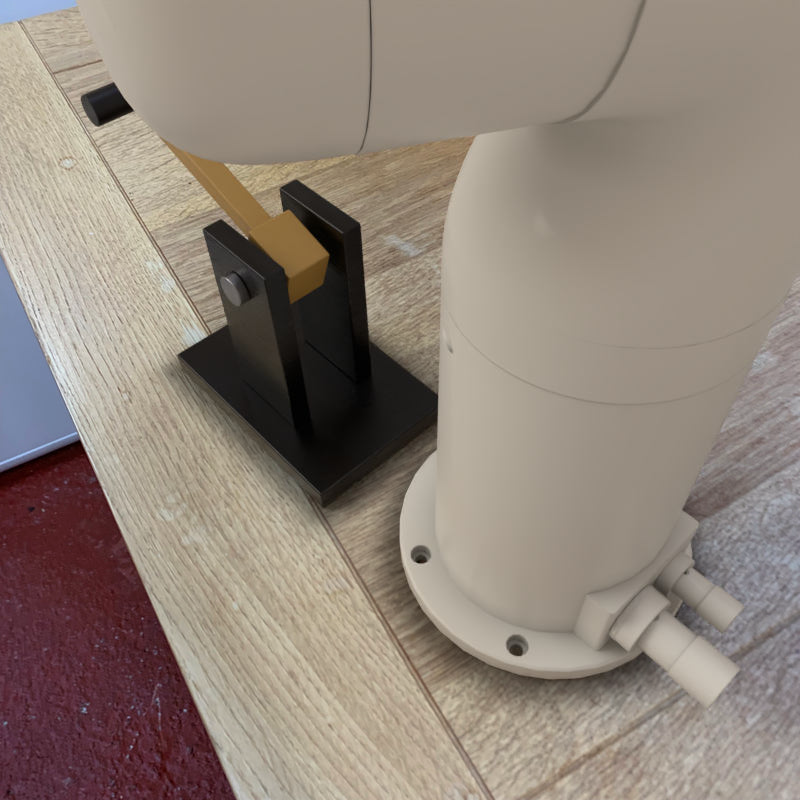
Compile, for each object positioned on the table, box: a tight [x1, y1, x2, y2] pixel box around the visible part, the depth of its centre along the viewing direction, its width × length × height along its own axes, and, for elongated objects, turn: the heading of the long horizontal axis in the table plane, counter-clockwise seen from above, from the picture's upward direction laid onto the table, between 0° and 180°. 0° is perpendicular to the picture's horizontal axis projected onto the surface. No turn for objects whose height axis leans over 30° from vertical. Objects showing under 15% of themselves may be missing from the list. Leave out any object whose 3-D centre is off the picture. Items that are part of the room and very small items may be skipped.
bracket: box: [176, 178, 438, 509], centre depth 37 cm, size 12×8×11 cm, turn 43°
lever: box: [80, 81, 329, 304], centre depth 35 cm, size 13×5×2 cm, turn 43°
